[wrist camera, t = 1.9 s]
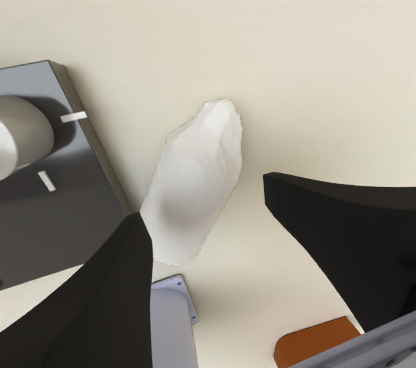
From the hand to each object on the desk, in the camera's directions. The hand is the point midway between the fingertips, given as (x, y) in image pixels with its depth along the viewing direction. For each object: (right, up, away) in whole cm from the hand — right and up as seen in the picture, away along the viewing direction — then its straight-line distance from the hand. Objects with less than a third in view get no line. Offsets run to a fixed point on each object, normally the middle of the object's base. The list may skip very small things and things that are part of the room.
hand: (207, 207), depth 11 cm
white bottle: (-2, +3, +6) cm, 7 cm away
